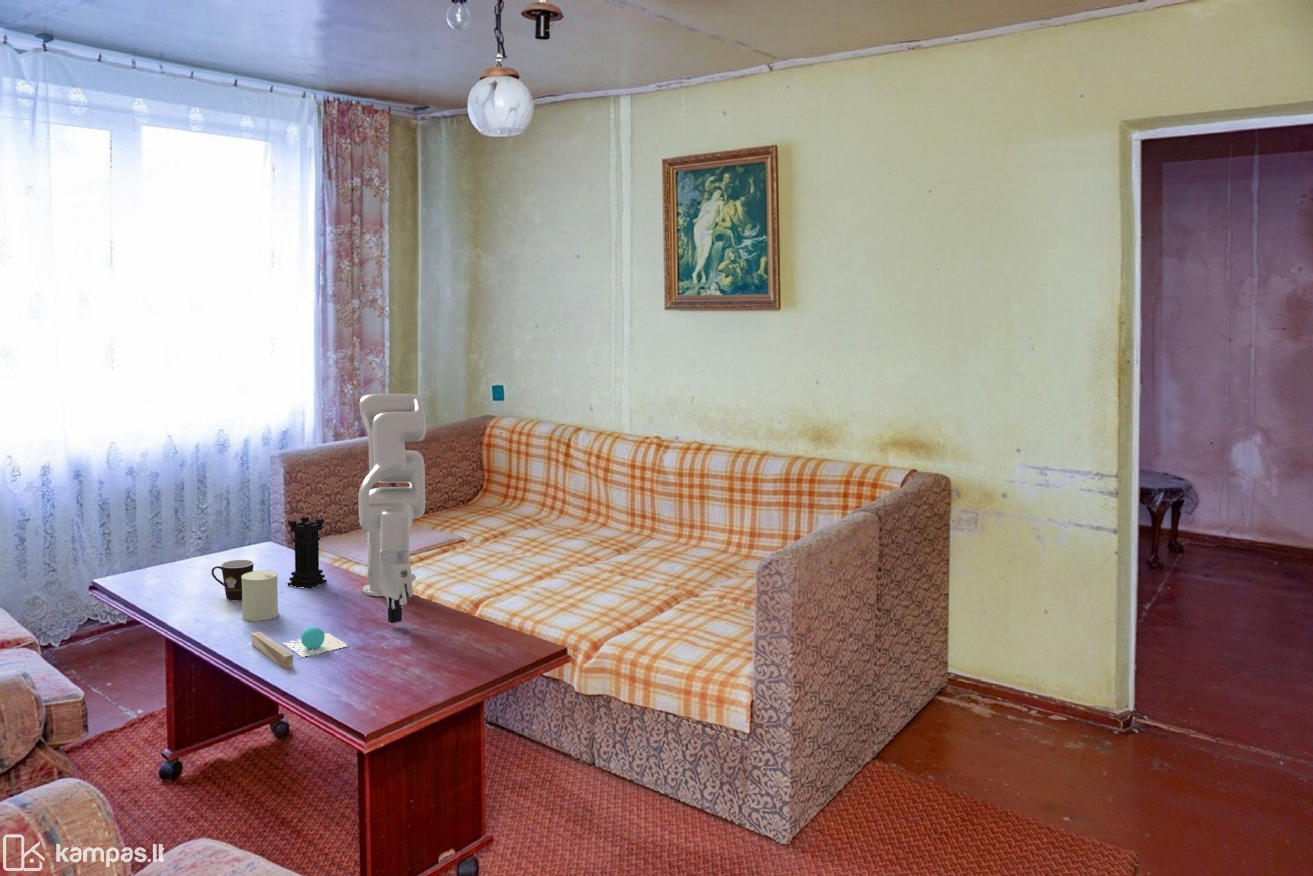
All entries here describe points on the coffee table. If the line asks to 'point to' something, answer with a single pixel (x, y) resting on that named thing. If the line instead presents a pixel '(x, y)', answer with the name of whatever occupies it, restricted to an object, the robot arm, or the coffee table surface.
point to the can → (259, 595)
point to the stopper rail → (272, 650)
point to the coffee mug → (234, 577)
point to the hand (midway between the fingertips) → (394, 621)
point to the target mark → (323, 648)
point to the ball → (312, 637)
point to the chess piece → (306, 553)
